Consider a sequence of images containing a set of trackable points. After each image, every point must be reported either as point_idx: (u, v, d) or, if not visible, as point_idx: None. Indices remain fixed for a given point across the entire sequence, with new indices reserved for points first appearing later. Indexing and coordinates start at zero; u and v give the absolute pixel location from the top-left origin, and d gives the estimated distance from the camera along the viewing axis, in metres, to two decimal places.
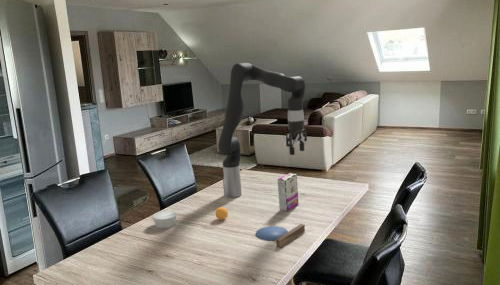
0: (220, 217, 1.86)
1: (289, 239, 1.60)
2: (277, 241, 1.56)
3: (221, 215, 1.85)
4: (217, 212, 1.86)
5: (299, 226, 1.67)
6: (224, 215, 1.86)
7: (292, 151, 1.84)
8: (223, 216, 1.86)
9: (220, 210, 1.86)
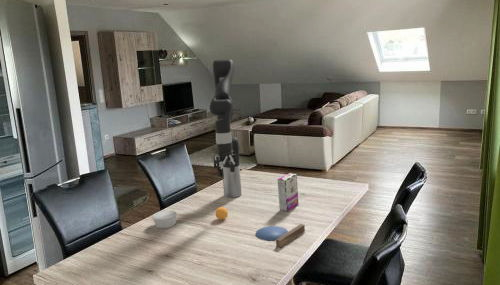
0: (220, 217, 1.86)
1: (289, 239, 1.60)
2: (277, 241, 1.56)
3: (221, 215, 1.85)
4: (217, 212, 1.86)
5: (299, 226, 1.67)
6: (224, 215, 1.86)
7: (220, 173, 1.86)
8: (223, 216, 1.86)
9: (220, 210, 1.86)
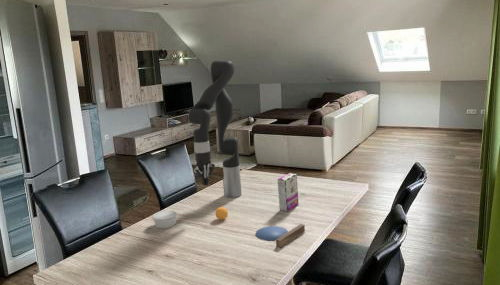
0: (220, 217, 1.86)
1: (289, 239, 1.60)
2: (277, 241, 1.56)
3: (221, 215, 1.85)
4: (217, 212, 1.86)
5: (299, 226, 1.67)
6: (224, 215, 1.86)
7: (204, 182, 1.90)
8: (223, 216, 1.86)
9: (220, 210, 1.86)
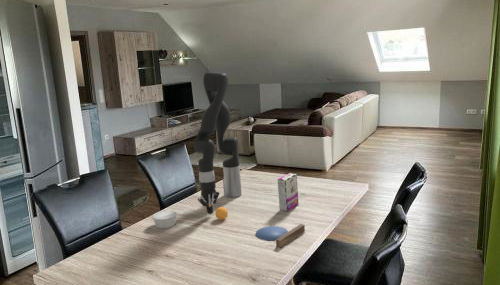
0: (220, 217, 1.86)
1: (289, 239, 1.60)
2: (277, 241, 1.56)
3: (221, 215, 1.85)
4: (217, 212, 1.86)
5: (299, 226, 1.67)
6: (224, 215, 1.86)
7: (209, 210, 1.91)
8: (223, 216, 1.86)
9: (220, 210, 1.86)
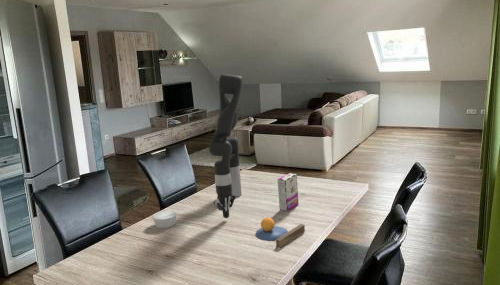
0: (261, 225, 1.71)
1: (289, 239, 1.60)
2: (277, 241, 1.56)
3: None
4: (265, 229, 1.69)
5: (299, 226, 1.67)
6: None
7: (225, 214, 1.85)
8: None
9: (267, 231, 1.71)
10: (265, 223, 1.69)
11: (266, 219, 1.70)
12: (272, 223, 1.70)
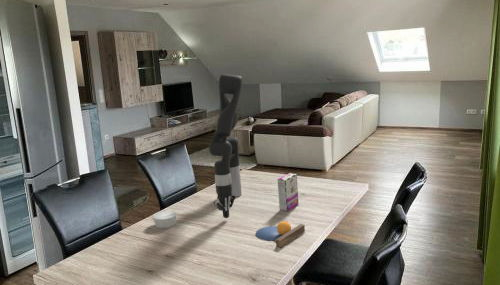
0: (284, 229, 1.64)
1: (289, 239, 1.60)
2: (277, 241, 1.56)
3: (283, 227, 1.64)
4: (278, 228, 1.65)
5: (299, 226, 1.67)
6: (285, 224, 1.64)
7: (225, 214, 1.85)
8: (285, 226, 1.64)
9: (279, 224, 1.66)
10: (280, 234, 1.65)
11: None
12: None
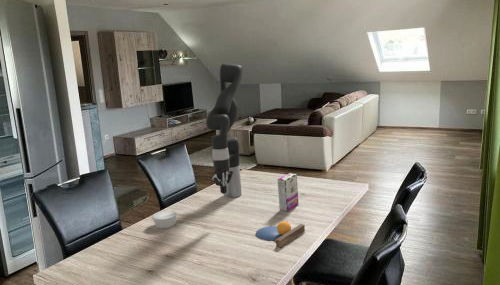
0: (284, 229, 1.64)
1: (289, 239, 1.60)
2: (277, 241, 1.56)
3: (283, 227, 1.64)
4: (278, 228, 1.65)
5: (299, 226, 1.67)
6: (285, 224, 1.64)
7: (223, 190, 1.83)
8: (285, 226, 1.64)
9: (279, 224, 1.66)
10: (280, 234, 1.65)
11: None
12: None
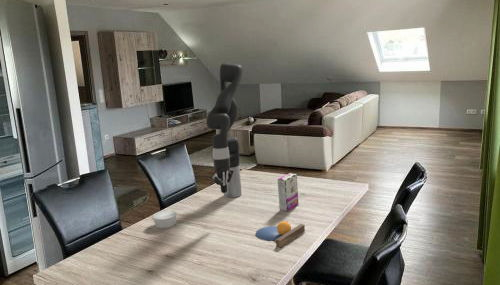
0: (284, 229, 1.64)
1: (289, 239, 1.60)
2: (277, 241, 1.56)
3: (283, 227, 1.64)
4: (278, 228, 1.65)
5: (299, 226, 1.67)
6: (285, 224, 1.64)
7: (223, 189, 1.83)
8: (285, 226, 1.64)
9: (279, 224, 1.66)
10: (280, 234, 1.65)
11: None
12: None
